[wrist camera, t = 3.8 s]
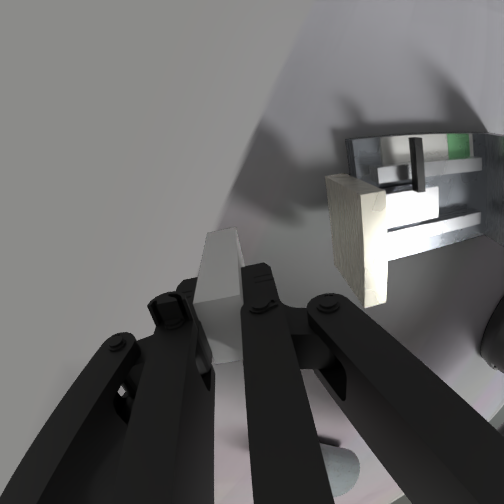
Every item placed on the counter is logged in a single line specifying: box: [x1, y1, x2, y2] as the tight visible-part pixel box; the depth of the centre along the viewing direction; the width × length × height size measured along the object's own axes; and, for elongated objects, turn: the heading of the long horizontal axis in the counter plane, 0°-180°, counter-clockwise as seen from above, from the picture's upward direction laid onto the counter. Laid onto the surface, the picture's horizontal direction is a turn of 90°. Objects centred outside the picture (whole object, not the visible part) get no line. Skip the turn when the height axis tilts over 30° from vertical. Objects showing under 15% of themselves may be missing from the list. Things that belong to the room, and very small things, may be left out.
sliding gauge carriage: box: [325, 137, 439, 308], centre depth 15 cm, size 8×7×6 cm
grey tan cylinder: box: [320, 443, 360, 497], centre depth 29 cm, size 11×8×8 cm
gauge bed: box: [345, 132, 504, 261], centre depth 17 cm, size 15×9×6 cm, turn 101°
